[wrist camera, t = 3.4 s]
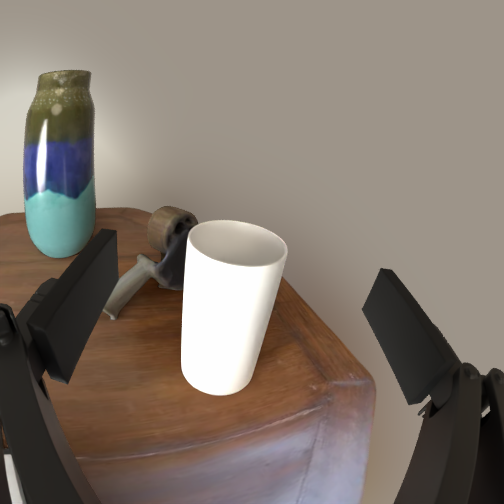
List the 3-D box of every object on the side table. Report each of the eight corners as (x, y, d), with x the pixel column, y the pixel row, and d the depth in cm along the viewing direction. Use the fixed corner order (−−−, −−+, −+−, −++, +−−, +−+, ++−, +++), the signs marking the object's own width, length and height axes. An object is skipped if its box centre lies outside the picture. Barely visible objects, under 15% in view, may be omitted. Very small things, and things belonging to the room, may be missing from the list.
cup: (202, 331, 35) (217, 212, 28) (262, 357, 33) (298, 238, 26) (167, 373, 28) (166, 242, 21) (235, 407, 26) (270, 280, 19)
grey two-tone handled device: (109, 333, 31) (98, 251, 26) (86, 308, 34) (74, 230, 28) (213, 274, 47) (223, 207, 42) (187, 259, 50) (194, 195, 44)
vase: (99, 262, 43) (106, 66, 29) (26, 271, 36) (16, 74, 22) (96, 228, 53) (104, 75, 39) (36, 234, 46) (35, 79, 32)
